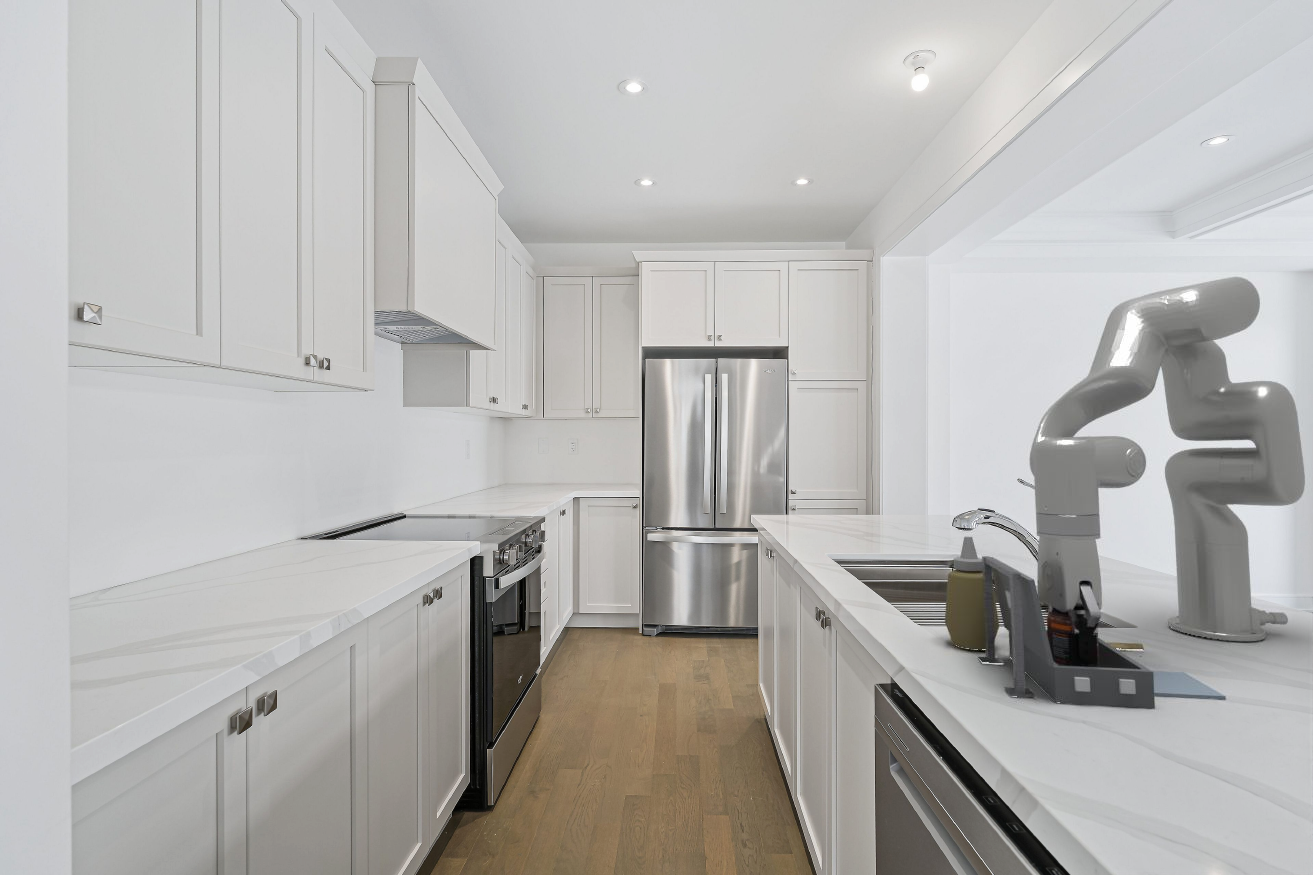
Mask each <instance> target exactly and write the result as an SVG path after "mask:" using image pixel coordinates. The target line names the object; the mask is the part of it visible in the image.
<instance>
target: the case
mask: <svg viewBox="0 0 1313 875" xmlns="http://www.w3.org/2000/svg"><path fill="white" fill-rule="evenodd" d="M1046 632H1047V629H1046ZM1106 642H1107V641H1105V640H1103V639H1101V638H1100V637H1098V649H1099V650H1098V652H1099V667H1077V666H1059V665H1057V664H1056V663H1055V662H1054V661H1053V662H1054V665H1051V666H1049V665H1048V664H1047V663H1045V662H1044V661H1043V660H1042V659H1041V658H1040V657H1038V656H1037V655H1036V654H1035V653H1034V652H1033V651H1031V650H1030V649H1029V648H1028V647H1027V646H1026V645H1024V644H1023V645H1024V669H1025V672H1026V673H1027V674H1028V675H1029V676H1030V677H1031V678H1032V679H1033V680H1034V681H1035V682H1036V683H1037V684H1038V685H1039V686H1040V687H1041V688H1042V689H1043V690H1044V691H1045V692H1046V693H1047V694H1048V695H1049V696H1050V697H1051V698H1052V699H1053V700H1054V701H1055V702H1060V703H1059V704H1063V703H1070V705H1081V704H1086V705H1085V706H1099V707H1100V706H1103V707H1118V706H1119V708H1120V706H1121V707H1122V708H1123V707H1124V708H1136V709H1137V708H1139V709H1156V703H1155V702H1156V701H1155V699H1156V698H1155V696H1154V677H1153V671H1154V670H1151V669H1150V668H1148V667H1146V666H1145V665H1143V664H1141V663H1140V662H1138V661H1136V660H1135V659H1134V658H1132V657H1130V656H1128V655H1127V654H1126V653H1124V652H1123V651H1119V650H1117V649H1116V648H1114V647H1113V646H1111V645H1109V644H1108V643H1106ZM1008 643H1009V644H1008V646H1009V658H1010V657H1011V658H1012V659H1013V650H1012V633H1010V632H1009V631H1008ZM1026 673H1025V674H1026ZM1027 674H1026V675H1027ZM1028 675H1027V676H1028ZM1029 676H1028V677H1029ZM1030 677H1029V678H1030ZM1031 678H1030V679H1031ZM1032 679H1031V680H1032ZM1033 680H1032V681H1033ZM1034 681H1033V682H1034ZM1035 682H1034V683H1035ZM1036 683H1035V684H1036ZM1037 684H1036V685H1037ZM1038 685H1037V686H1038ZM1039 686H1038V687H1039ZM1040 687H1039V688H1040ZM1041 688H1040V689H1041ZM1042 689H1041V690H1042ZM1043 690H1042V691H1043ZM1044 691H1043V692H1044ZM1045 692H1044V693H1045ZM1046 693H1045V694H1046ZM1047 694H1046V695H1047ZM1048 695H1047V696H1048ZM1049 696H1048V697H1049ZM1050 697H1049V698H1050ZM1051 698H1050V699H1051ZM1052 699H1051V700H1052ZM1053 700H1052V701H1053ZM1054 701H1053V702H1054ZM1055 702H1054V703H1055ZM1071 703H1072V704H1071ZM1087 704H1088V705H1087Z"/></svg>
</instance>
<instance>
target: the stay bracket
mask: <svg viewBox="0 0 1313 875" xmlns="http://www.w3.org/2000/svg"><path fill="white" fill-rule="evenodd" d="M991 557H992V556H987V555H986V556H983V555H981V559H982V570H983V596H984V621H985V646H986V650H985V656H977V659H978V658H979V659H980V660H981V661H982V662H989V663H1004V664H1005V662H1004V661H1003V660H1002V659H1001V658H1000V657H997V656H996V644H995V642H996V638H995V637H994V612H993V588H994V586H993V587H992V581H993V575H992V567H993V568H995V569H996V570H998V571H1000V572H1001V573H1003V574H1005V575H1006V576H1008V577H1010V601H1011V626H1012V650H1013V661H1012V670H1013V671H1012V673H1013V687H1011V686H1010V687H1009V686H1007V687H1004V692H1005V693H1006V694H1007V693H1008V694H1009V695H1010V696H1017V697H1016V698H1021V697H1036V694H1035V693H1034V692H1033V691H1032V690H1031V689H1030V688H1027V687H1026V676H1025V675H1026V673H1025V669H1024V645H1023V621H1022V597H1021V574H1020V573H1018V572H1016V571H1014V570H1012V569H1010V568H1008V567H1007V566H1005V565H1003V564H1001V563H999V562H998V561H996V560H994V559H992V558H991ZM1008 694H1007V695H1008ZM1009 695H1008V696H1009ZM1010 696H1009V697H1010Z"/></svg>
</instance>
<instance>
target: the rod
mask: <svg viewBox="0 0 1313 875" xmlns="http://www.w3.org/2000/svg"><path fill="white" fill-rule="evenodd" d="M1105 642H1106V643H1108V644H1109V645H1111V646H1113V647H1114V648H1119V649H1120V648H1121V649H1143V650H1144V651H1145V647H1144V645H1143V644H1142V643H1138V642H1137V643H1136V642H1113V641H1111V642H1108V641H1105Z"/></svg>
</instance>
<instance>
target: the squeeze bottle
mask: <svg viewBox="0 0 1313 875" xmlns="http://www.w3.org/2000/svg"><path fill="white" fill-rule="evenodd" d="M974 543H975V542H974V539H973V537H972V536H964V537H963V541H962V546H961V552H960V556H959V557H958V556H957V557H954V558H953V568H954V569H953V570H951V571H950V572H949V573H948V574H947V585H946V596H945V597H946V599H945V600H946V601H945V611H944V614H945V615H944V623H945V626H946V629H947V631H948V634H949V637H950V639H951V642H952V644H953V646H955V645H957V646H959V647H963V648H969V649H978V650H981V651H983V650H982V649H986V646H985V621H984V596H983V570H982V557H981V558H979V557H978V555H977V549H976V546H975V544H974ZM992 587H993V612H994V637H995V639H996V638H997V635H998V632H999V629H1000V623H999V616H998V615H999V613H998V609H997V608H998V607H997V603H996V602H997V601H996V596H995V587H994V580H992ZM957 646H956V647H957ZM959 647H958V648H959ZM963 648H962V649H963Z"/></svg>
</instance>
